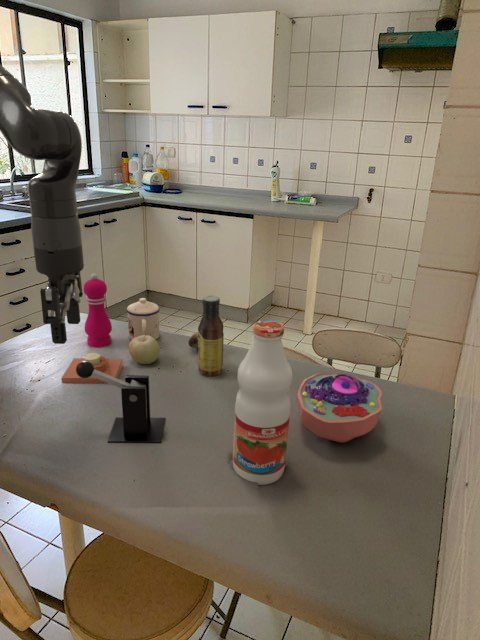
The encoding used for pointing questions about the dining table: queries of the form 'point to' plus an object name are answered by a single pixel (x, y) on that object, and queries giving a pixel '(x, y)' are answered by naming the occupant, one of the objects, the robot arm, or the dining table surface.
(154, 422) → the bracket
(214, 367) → the sauce bottle
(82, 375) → the tap lever
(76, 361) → the tiered orange pedestal
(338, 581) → the dining table surface
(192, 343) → the mushroom
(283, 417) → the fruit juice
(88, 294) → the pepper mill
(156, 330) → the teacup with lid
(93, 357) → the button
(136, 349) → the fruit
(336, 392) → the cell model
